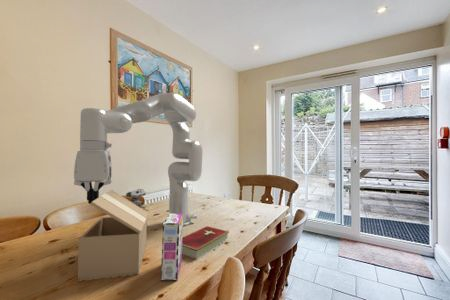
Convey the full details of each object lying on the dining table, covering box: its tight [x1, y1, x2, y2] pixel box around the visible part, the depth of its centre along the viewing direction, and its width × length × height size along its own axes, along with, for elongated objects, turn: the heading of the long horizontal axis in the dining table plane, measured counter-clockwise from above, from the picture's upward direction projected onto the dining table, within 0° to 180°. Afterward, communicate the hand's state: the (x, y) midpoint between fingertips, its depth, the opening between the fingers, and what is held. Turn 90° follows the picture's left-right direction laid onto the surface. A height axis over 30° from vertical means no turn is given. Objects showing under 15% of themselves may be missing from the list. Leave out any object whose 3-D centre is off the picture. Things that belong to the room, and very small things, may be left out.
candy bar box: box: [160, 213, 184, 281], centre depth 67 cm, size 11×5×16 cm, turn 5°
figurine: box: [125, 188, 147, 210], centre depth 120 cm, size 9×12×15 cm
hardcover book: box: [182, 225, 230, 260], centre depth 86 cm, size 12×21×4 cm, turn 148°
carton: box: [77, 216, 148, 282], centre depth 72 cm, size 16×20×12 cm
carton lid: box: [90, 189, 149, 234], centre depth 73 cm, size 16×20×1 cm
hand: (92, 202), depth 71 cm, fingers closed
